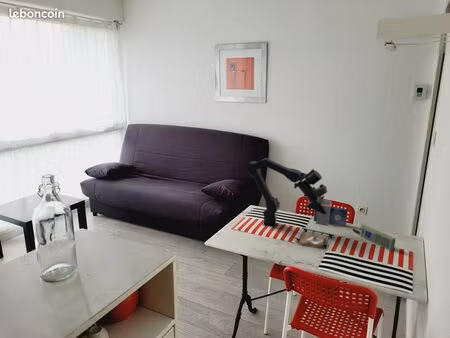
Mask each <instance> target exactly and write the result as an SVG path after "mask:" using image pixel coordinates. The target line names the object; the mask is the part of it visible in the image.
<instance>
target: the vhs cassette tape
mask: <svg viewBox="0 0 450 338" xmlns="http://www.w3.org/2000/svg"><path fill="white" fill-rule="evenodd" d="M347 216H348V208H341V207H333V206H331V210H330V219H329V223H328V225H329V224H330V225H334V226H340V227H346V225H347ZM316 218H317V211H316V210H314V212H313V221H314V222H316Z"/></svg>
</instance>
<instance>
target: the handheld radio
mask: <svg viewBox="0 0 450 338" xmlns="http://www.w3.org/2000/svg"><path fill="white" fill-rule="evenodd" d="M352 231H353V232H354V233H357V234H358V235H359V236H360V237H362V238H363V239H365V240H367V241H370V242H371V243H373V244H376V245H378V246H380V247H382V248H384V249H386V250H388V251H391V252H393V251H394V249H395V244H396V237H393V236H391V235H390V234H389V235H388V234H386V233H384V232H382V231H380V230H378V229H375V228H373V227H371V226H368V225H366V224H365V223H360V228H359V230H357V229H356V228H352Z"/></svg>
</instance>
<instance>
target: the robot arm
mask: <svg viewBox="0 0 450 338" xmlns="http://www.w3.org/2000/svg"><path fill="white" fill-rule="evenodd" d="M264 167H266V168H268V169H271V170H273V171H275V172H277V173H279V174H281V175H283V176H284V177H285V178H286V179H288V181H290V182H291V183H294V184H293V189H297V188H298V189H299V191H301V192H302V194H303V196H304V197H306V198H307V199H308V204H307V209H308V210H314V211H315V210H316V211H318V212H320V213H323V214H326V212H325V210H324V209H323V207H322V206H321V201H319V200H320V199H324V200H325V195H326V194H327V192H328V189H327V186H326V185H324V184H323V183H321V184H320V185H318V186H319V187H317V188H316V187H315V186H314V185H316V184H317V183H318V182H319V181H321V180H323V179H322V175H321V174H320V172H318V171H316V170H315V169H314V168H312V169H311V171H309V172H308V173H305V172H302V171H301V170H298V169H296V168H289V167H286V166H284V165H283V164H280V163H278V162H275V161H274V160H271V159H270V158H269V157H265V158H263V159H261V160H257V161H256V160H254V161H251V162H249V163H248V164H247V165H246V167H245V168H246V171H247V172H248V174H249V175H250V176H251V177H252V178H253V179H254V181H255V182H256V185H257V187H258V189H259V190H260V193H261V194H262V196H263V199H264V201H265V207H266V209H265V210H264V211H263V212H262V214H263V223H262V225H263V226H269V227H275V225H276V224H277V216H276V213H277V212H278V210H279V209H280V207H281V205H280V204H281V203H280V202H279V200H278V197H274V196H273V195H272V193H271V191H270V189H269V187H268V185H267V183H266V182H265V179H264V177H263V175H262V169H261V168H264Z"/></svg>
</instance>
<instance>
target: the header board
mask: <svg viewBox="0 0 450 338" xmlns="http://www.w3.org/2000/svg"><path fill="white" fill-rule="evenodd" d="M324 242H325V235H324V234H315V233H308V232H301V234H300V237H299V241H298V245H299V246H305V245H306V247H313V248H320V249H324Z"/></svg>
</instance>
